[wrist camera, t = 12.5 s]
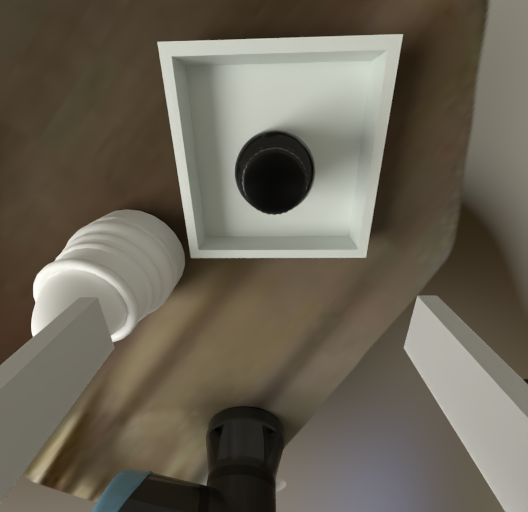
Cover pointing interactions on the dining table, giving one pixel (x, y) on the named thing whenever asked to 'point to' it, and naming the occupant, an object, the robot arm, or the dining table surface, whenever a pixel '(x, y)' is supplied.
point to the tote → (286, 117)
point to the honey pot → (112, 271)
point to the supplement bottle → (274, 171)
